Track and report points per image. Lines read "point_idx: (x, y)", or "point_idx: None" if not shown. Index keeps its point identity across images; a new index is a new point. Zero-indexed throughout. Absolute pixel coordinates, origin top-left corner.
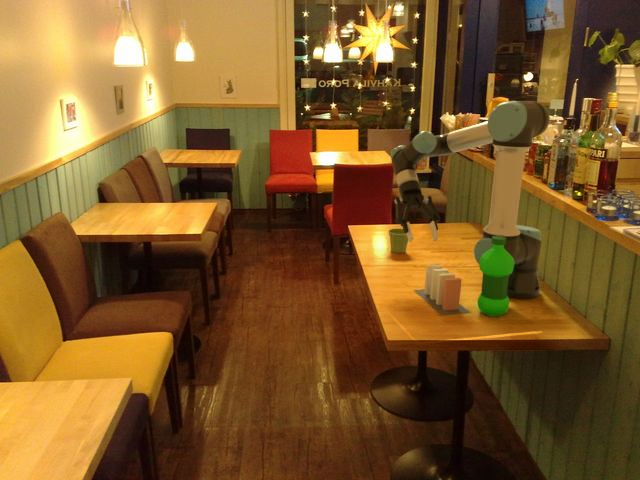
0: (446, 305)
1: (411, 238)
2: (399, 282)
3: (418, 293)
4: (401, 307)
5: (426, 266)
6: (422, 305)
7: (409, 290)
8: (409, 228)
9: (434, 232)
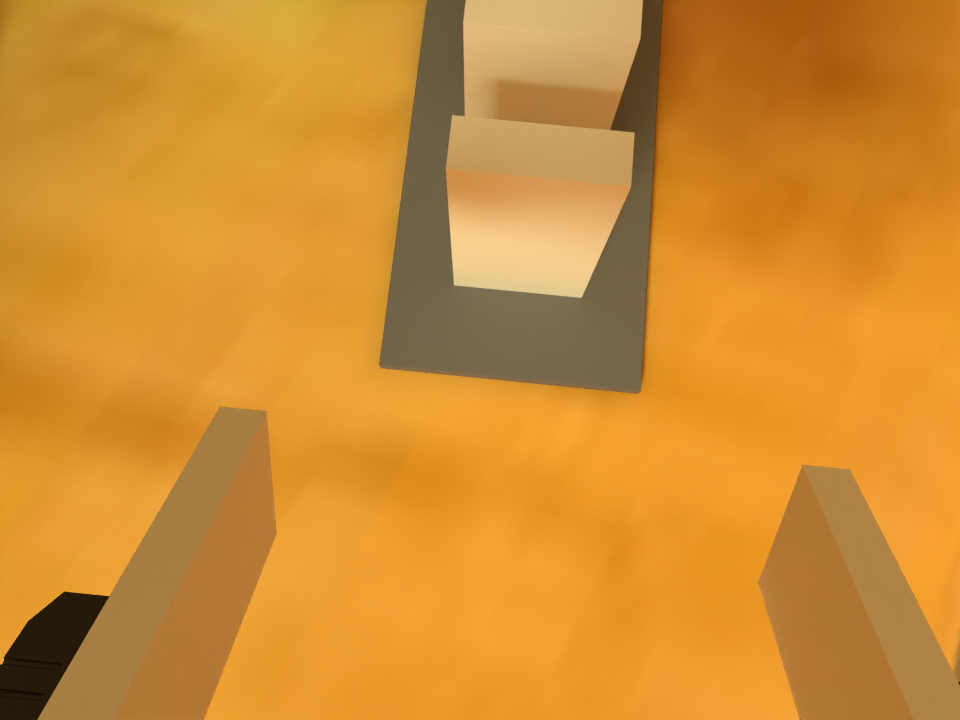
0: None
1: (847, 471)
2: (653, 655)
3: (633, 305)
4: (874, 128)
5: (628, 192)
6: (699, 118)
7: (654, 432)
8: (938, 680)
9: (225, 531)
